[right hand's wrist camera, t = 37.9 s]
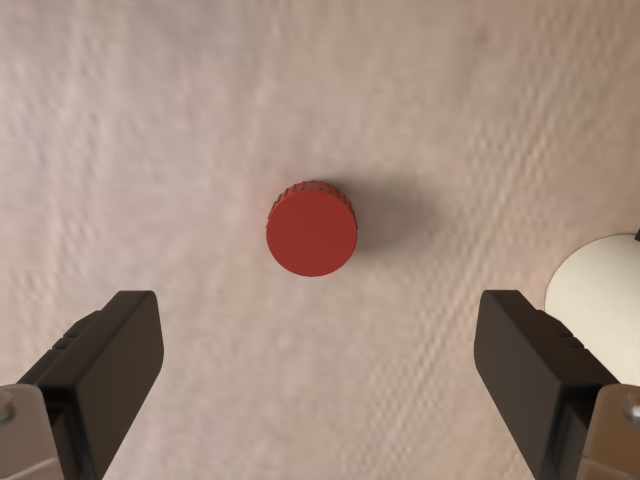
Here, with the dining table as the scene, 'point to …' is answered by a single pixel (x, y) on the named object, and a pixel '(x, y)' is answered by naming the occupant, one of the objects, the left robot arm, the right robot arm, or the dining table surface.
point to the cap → (311, 229)
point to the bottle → (602, 302)
